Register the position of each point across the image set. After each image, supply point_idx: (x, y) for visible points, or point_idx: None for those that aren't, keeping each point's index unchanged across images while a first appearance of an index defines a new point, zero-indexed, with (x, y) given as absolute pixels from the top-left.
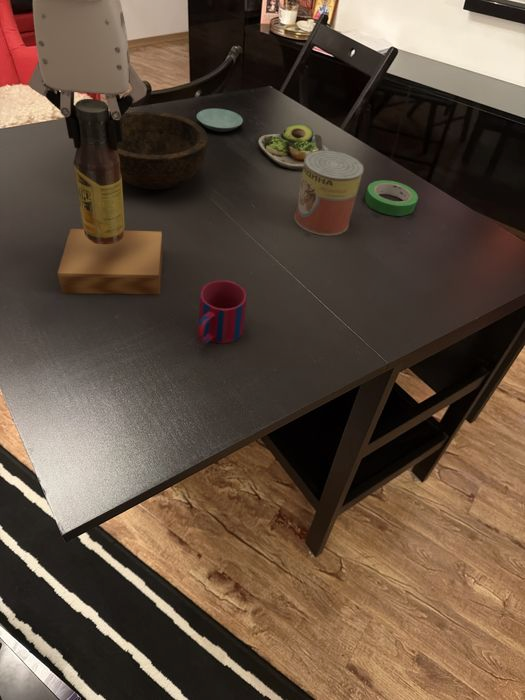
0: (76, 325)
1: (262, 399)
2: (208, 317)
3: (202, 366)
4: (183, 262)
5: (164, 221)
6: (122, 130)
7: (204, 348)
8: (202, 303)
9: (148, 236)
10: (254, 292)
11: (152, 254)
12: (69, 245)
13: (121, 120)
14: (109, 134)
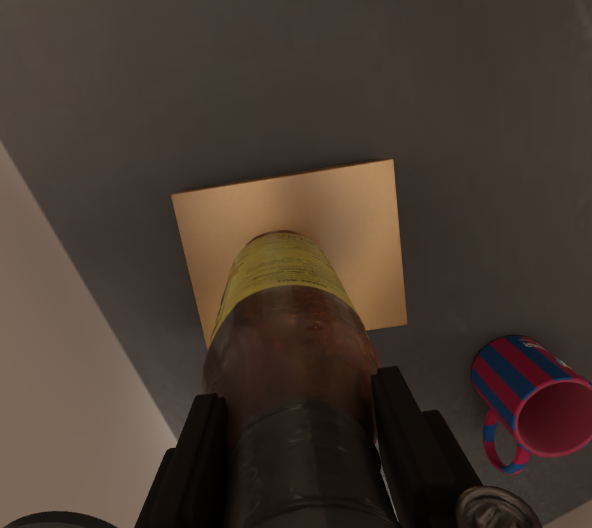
0: None
1: (560, 485)
2: (523, 466)
3: (476, 445)
4: (430, 193)
5: (365, 17)
6: (449, 430)
7: (479, 413)
8: (513, 436)
9: (363, 188)
10: (579, 265)
11: (384, 259)
12: (195, 262)
13: (474, 472)
14: (377, 456)
